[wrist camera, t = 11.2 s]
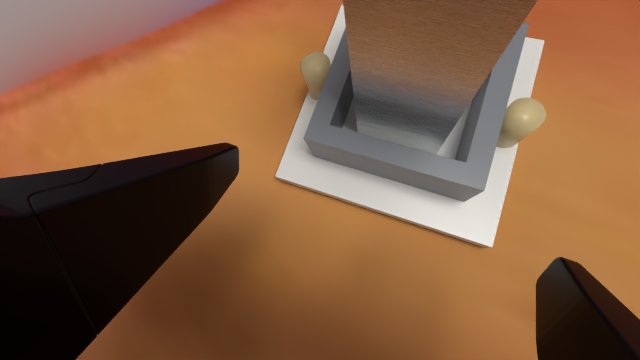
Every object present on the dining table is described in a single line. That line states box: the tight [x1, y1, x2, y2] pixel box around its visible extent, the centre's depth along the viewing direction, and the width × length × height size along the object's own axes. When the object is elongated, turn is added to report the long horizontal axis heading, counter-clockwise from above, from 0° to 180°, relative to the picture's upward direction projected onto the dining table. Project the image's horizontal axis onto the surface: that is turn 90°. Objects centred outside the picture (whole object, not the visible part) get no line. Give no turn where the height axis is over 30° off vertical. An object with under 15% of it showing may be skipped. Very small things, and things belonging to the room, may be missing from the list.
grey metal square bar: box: [343, 0, 537, 154], centre depth 11 cm, size 4×4×13 cm
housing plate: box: [275, 4, 546, 248], centre depth 17 cm, size 12×12×4 cm
